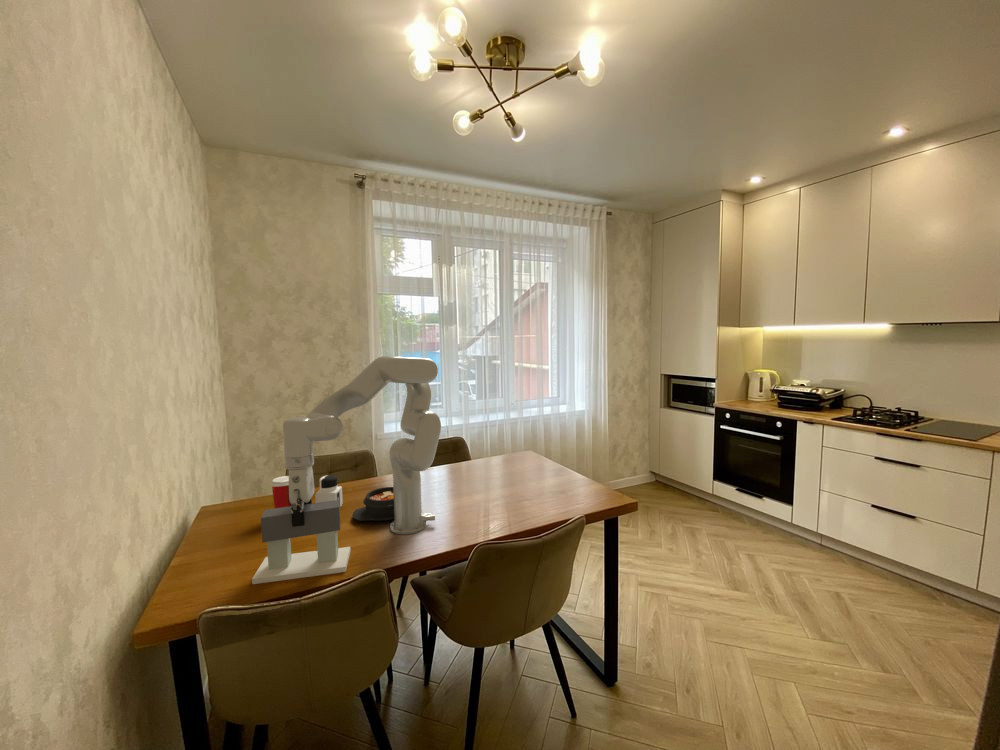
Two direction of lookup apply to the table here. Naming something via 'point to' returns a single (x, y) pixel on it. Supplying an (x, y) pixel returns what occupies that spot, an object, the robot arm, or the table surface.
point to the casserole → (377, 506)
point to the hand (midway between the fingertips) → (302, 518)
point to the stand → (302, 560)
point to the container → (329, 490)
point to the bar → (316, 521)
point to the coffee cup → (281, 492)
